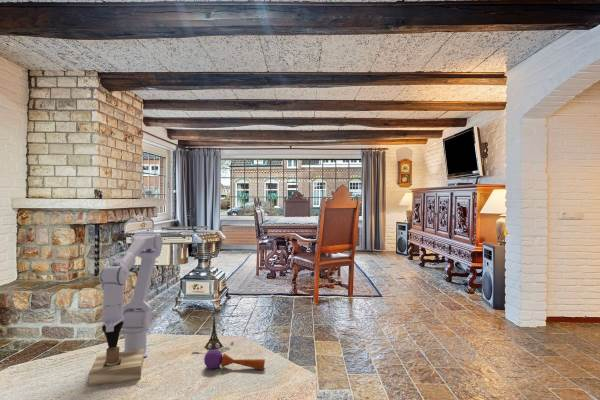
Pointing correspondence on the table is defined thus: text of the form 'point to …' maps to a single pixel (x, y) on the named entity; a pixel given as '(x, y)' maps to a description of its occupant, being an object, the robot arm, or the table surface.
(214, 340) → the eiffel tower figurine
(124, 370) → the socket block
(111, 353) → the peg
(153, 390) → the table surface
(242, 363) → the kendama
